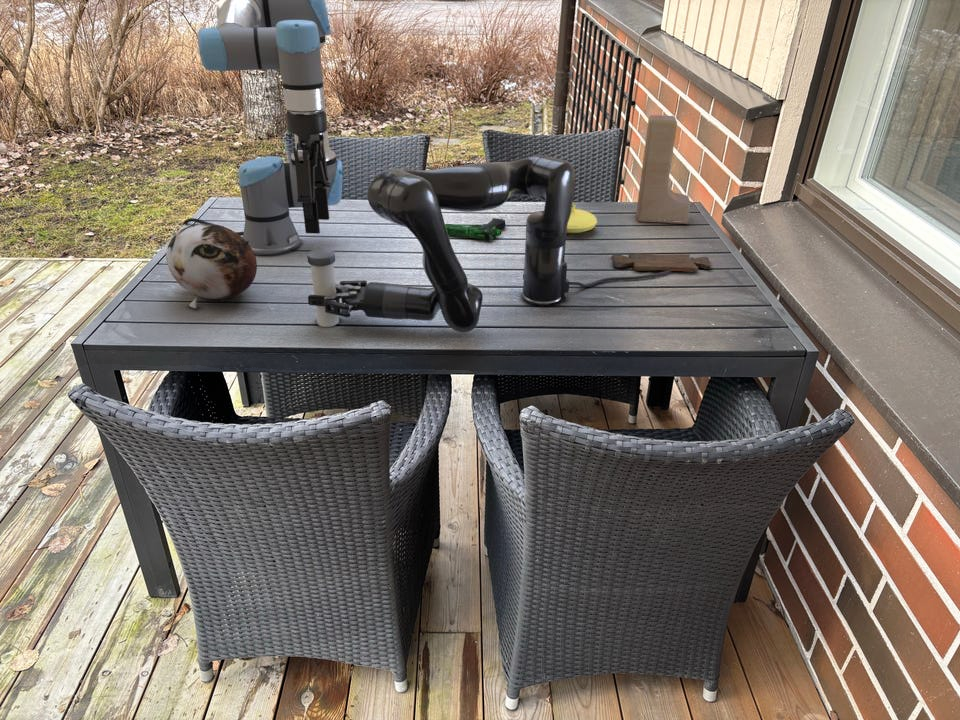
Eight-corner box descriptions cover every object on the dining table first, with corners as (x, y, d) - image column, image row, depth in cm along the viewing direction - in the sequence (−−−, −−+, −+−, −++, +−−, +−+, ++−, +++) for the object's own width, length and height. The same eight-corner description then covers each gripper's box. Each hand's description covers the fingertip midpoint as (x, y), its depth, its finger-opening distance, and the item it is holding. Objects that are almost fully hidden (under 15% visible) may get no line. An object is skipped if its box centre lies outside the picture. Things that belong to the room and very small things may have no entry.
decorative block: (687, 224, 215) (705, 122, 200) (637, 221, 217) (650, 120, 202) (685, 216, 222) (701, 116, 206) (636, 213, 223) (648, 114, 208)
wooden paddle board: (715, 274, 184) (705, 259, 193) (716, 268, 183) (706, 253, 192) (615, 271, 185) (610, 256, 193) (615, 265, 184) (610, 250, 192)
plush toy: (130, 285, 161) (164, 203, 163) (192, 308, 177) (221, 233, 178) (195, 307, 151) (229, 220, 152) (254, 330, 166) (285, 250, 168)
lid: (313, 268, 148) (312, 260, 147) (304, 259, 152) (303, 251, 151) (339, 263, 151) (338, 255, 150) (329, 254, 155) (328, 246, 154)
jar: (322, 328, 156) (314, 261, 148) (314, 320, 159) (306, 253, 151) (342, 323, 158) (335, 256, 150) (334, 315, 162) (327, 249, 153)
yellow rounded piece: (559, 216, 220) (561, 193, 217) (605, 227, 212) (608, 204, 209) (532, 230, 209) (533, 207, 206) (580, 242, 201) (582, 218, 198)
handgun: (511, 219, 210) (493, 234, 198) (511, 228, 211) (492, 244, 199) (461, 212, 215) (440, 226, 203) (461, 221, 217) (440, 236, 204)
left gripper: (300, 99, 144) (312, 209, 156) (269, 121, 127) (285, 243, 139) (337, 100, 144) (346, 210, 156) (311, 123, 127) (324, 244, 138)
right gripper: (396, 271, 158) (323, 265, 160) (378, 299, 146) (298, 292, 148) (398, 302, 162) (326, 296, 164) (380, 332, 149) (302, 324, 152)
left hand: (317, 225), depth 147 cm, fingers open, 7 cm apart
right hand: (313, 294), depth 156 cm, fingers closed on jar, 4 cm apart
